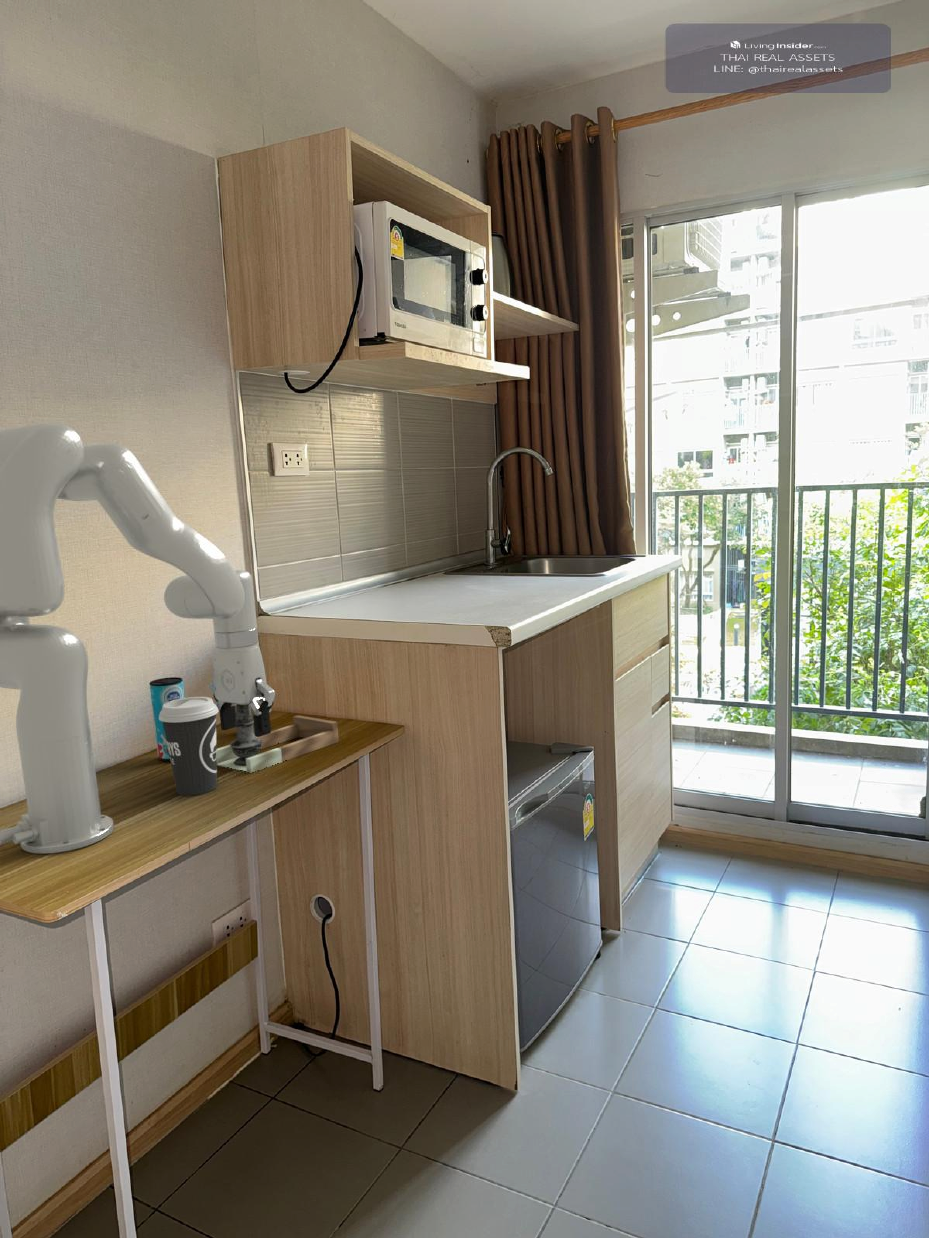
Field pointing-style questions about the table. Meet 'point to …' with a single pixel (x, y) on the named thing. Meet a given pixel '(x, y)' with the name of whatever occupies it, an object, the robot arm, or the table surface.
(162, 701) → the beverage can
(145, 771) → the table surface
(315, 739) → the bay
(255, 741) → the grey chess piece
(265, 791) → the table surface
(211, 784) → the coffee cup
